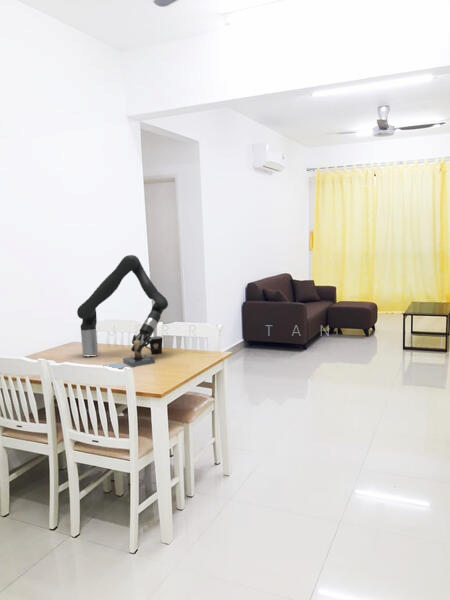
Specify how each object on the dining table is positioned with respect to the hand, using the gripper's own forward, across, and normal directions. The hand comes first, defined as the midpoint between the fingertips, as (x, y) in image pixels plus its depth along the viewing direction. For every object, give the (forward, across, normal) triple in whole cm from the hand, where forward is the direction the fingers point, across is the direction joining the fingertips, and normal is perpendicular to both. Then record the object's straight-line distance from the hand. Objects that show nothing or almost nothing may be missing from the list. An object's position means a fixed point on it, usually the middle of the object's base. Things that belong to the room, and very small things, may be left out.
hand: (135, 351), depth 281 cm
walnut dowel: (+2, 0, +5) cm, 5 cm away
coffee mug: (-12, -8, +23) cm, 27 cm away
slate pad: (+13, -5, -2) cm, 14 cm away
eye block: (+4, 0, +6) cm, 8 cm away
